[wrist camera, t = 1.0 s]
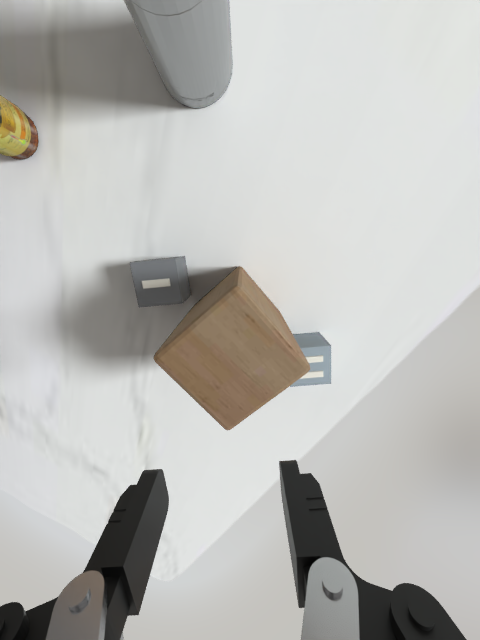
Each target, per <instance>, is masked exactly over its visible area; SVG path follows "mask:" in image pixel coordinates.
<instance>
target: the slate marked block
mask: <svg viewBox="0 0 480 640" xmlns="http://www.w3.org/2000/svg"><path fill="white" fill-rule="evenodd" d="M293 336H294V338H295V340H296V341H297V343H298V345H299V347H300V349H301V350H302V352H303V354H304V356H305V357H306V359H307V361H308V363H309V365H310V370H309V372H308V373H307V374H305V375H304V376H302V377H301V378H300V379H298V380H297V381H296V382H294V383H293V384H292V385H290V387H293V386H306V385H318V384H331V345H330V344H329V343H328V342H327V340H326V339H325V338H324V337H323V336H322V335H321V334H320V333H319V332H316V333H305V334H293Z"/></svg>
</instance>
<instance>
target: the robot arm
mask: <svg viewBox="0 0 480 640" xmlns="http://www.w3.org/2000/svg"><path fill="white" fill-rule="evenodd" d="M124 2H125V4H126V6H127V8H128V10H129V12H130V14H131V16H132V18H133V20H134V22H135V24H136V26H137V29H138V31H139V33H140V35H141V37H142V39H143V41H144V43H145V45H146V47H147V49H148V51H149V53H150V55H151V57H152V60H153V62H154V64H155V66H156V68H157V70H158V72H159V74H160V76H161V78H162V80H163V82H164V84H165V86H166V88H167V90H168V91H169V93H170V94H171V95H172V96H173V97H174V98H175V99H176V100H177V101H178V102H180V103H182V104H183V105H185V106H188V107H192V108H202V107H206V106H209V105H211V104H213V103H215V102H216V101H217V100H218V99H219V98H220V97H221V96H222V95H223V94H224V92H225V91H226V89H227V87H228V85H229V83H230V79H231V75H232V65H233V64H232V45H231V23H230V5H229V0H124ZM279 466H280V481H281V494H282V502H283V509H284V515H285V521H286V528H287V535H288V541H289V547H290V554H291V560H292V567H293V573H294V580H295V586H296V592H297V599H298V605H299V608H305V609H304V617H303V626H302V635H301V640H466V639H465V637H464V636H463V634H462V633H461V632H460V630H459V629H458V628H457V626H456V625H455V624H454V622H453V621H452V619H451V618H450V617H449V615H448V614H447V613H446V611H445V610H444V608H443V607H442V606H441V605H440V603H439V602H438V601H437V600H436V599H435V598H434V597H433V596H432V595H431V594H430V593H428V592H427V591H426V590H424V589H423V588H421V587H419V586H416V585H414V584H409V583H403V584H399V585H398V586H396V587H395V588H394V589H393V591H391V590H388V589H385V588H382V587H379V586H376V585H373V584H370V583H368V582H366V581H364V580H362V579H361V578H360V577H358V576H357V575H356V574H355V573H354V572H353V571H352V570H351V569H350V568H349V566H348V565H347V563H346V562H345V560H344V558H343V555H342V553H341V550H340V547H339V543H338V540H337V538H336V534H335V531H334V528H333V525H332V522H331V519H330V516H329V512H328V510H327V506H326V503H325V500H324V497H323V494H322V491H321V488H320V485H319V483H318V482H317V480H316V479H315V478H314V477H313V475H312V474H311V473H308V474H300V473H299V468H298V464H297V461H296V460H291V461H279ZM168 505H169V497H168V491H167V487H166V482H165V478H164V473H163V470H162V469H156V470H144V471H143V472H142V474H141V477H140V479H139V481H138V483H137V485H130V486H129V487H128V488H127V490H126V491H125V492H124V493H123V494H122V495H121V496H120V498H119V500H118V502H117V504H116V506H115V509H114V512H113V513H112V515H111V517H110V519H109V521H108V524H107V525H106V527H105V529H104V531H103V533H102V535H101V537H100V539H99V541H98V543H97V546H96V548H95V550H94V552H93V554H92V556H91V558H90V560H89V562H88V564H87V567H86V568H85V570H84V572H83V573H82V574H80V575H78V576H77V577H75V578H74V579H73V580H72V581H71V582H70V583H69V584H68V585H67V586H66V587H65V588H64V589H63V591H62V592H61V594H60V595H59V597H57V598H55V599H53V600H51V601H49V602H46V603H44V604H42V605H39V606H37V607H35V608H33V609H30V610H28V611H25V610H24V608H23V606H22V605H21V604H20V603H17V602H11V603H8V604H5V605H3V606H1V607H0V640H123V632H122V631H123V628H124V625H125V622H126V619H127V616H128V615H139V611H140V608H141V604H142V601H143V597H144V593H145V590H146V586H147V583H148V579H149V576H150V572H151V569H152V565H153V562H154V558H155V554H156V551H157V547H158V544H159V540H160V537H161V533H162V530H163V526H164V522H165V519H166V515H167V511H168Z"/></svg>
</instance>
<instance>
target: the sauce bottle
mask: <svg viewBox="0 0 480 640" xmlns="http://www.w3.org/2000/svg"><path fill="white" fill-rule="evenodd" d="M37 147H38V133H37V130H36V127H35V125H34V123H33V121H32V120H31V119H30V118H29V117H28V116H27V115H26V114H25V113H24V112H22V111H21V110H20V109H19V108H18V107H17V106H16V105H14V104H13V103H11V102H10V101H8V100H7V99H5V98H4V97H2V96H0V154H2V155H6V156H10V157H13V158H16V159H25V158H29V157H30V156H32V155H33V153H35V151H36V150H37Z"/></svg>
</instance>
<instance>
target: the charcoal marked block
mask: <svg viewBox="0 0 480 640" xmlns="http://www.w3.org/2000/svg"><path fill="white" fill-rule="evenodd" d="M130 267H131V271H132V276H133V281H134V286H135V291H136V296H137V300H138V305H139V307H148V306H159V305H169V304H180V303H183V302H184V301H185V300H186V299H187V298H188V297H190V296H191V294H190V287H189V280H188V274H187V267H186V260H185V256H183V257H173V258H162V259H152V260H143V261H136V262H130Z"/></svg>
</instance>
